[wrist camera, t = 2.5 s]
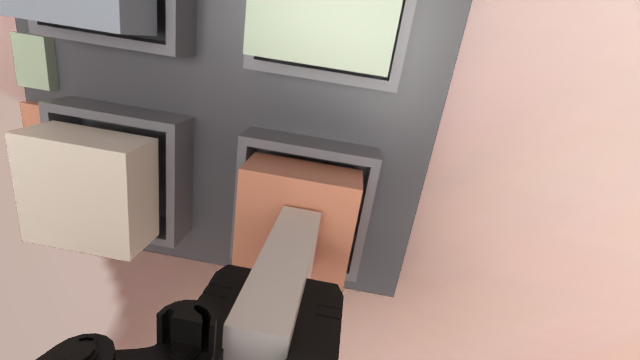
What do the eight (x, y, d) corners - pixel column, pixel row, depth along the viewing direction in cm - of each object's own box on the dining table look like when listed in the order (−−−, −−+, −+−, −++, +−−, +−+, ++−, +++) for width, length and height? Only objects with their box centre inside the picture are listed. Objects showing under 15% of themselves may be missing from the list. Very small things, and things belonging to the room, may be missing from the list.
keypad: (57, 223, 22) (13, 250, 19) (8, -183, 15) (-71, -235, 12) (391, 285, 21) (396, 322, 18) (496, -117, 14) (529, -156, 12)
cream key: (64, 217, 18) (22, 241, 16) (53, 120, 16) (4, 132, 14) (159, 234, 18) (130, 261, 16) (158, 138, 16) (125, 153, 14)
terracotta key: (247, 245, 18) (231, 273, 16) (255, 151, 16) (238, 168, 14) (344, 263, 18) (341, 294, 16) (362, 170, 16) (363, 190, 14)
